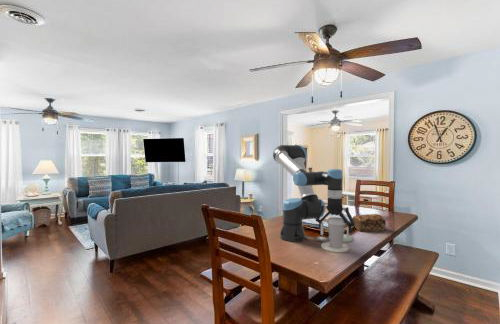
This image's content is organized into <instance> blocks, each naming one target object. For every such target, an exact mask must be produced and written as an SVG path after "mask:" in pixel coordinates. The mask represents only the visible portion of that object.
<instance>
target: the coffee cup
mask: <svg viewBox="0 0 500 324" xmlns="http://www.w3.org/2000/svg"><path fill="white" fill-rule="evenodd" d="M326 223H327V228H328V238H329V241H328V242H330V247H332V248H336V249H340V248H342V247H343V244H344V242H343V237H344V234H345V225H347V224H346V223H345V221H344V220H343V219H342V218H341V217H340V216H339V217H338V216H337V217H336V216H333V217H332V216H331V217H329V218H328V219H327V221H326Z"/></svg>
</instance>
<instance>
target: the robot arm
mask: <svg viewBox="0 0 500 324" xmlns="http://www.w3.org/2000/svg"><path fill="white" fill-rule="evenodd" d="M272 156H273V160H274V161H275V162H276V163H277V164H278V165H281V166H282V167H283V168H284V169H285V171H287V172H288V173H289V174H290V175H291V176H292V181H293V183H294V185H295V186H297V188H298V190H299V191H298V192H299V194H300V197H299V198H298V197H296V198H294V197H293V198H288V199H285V200H284V201H283V203H282V225H281V229H280V232H279V237H280V239H282V240H284V241H289V242H301V241H304V240H306V234H305V228H304V227H303V221H304V220H312V219H313V220H315V222H316V223H318V229H320V236H323V235H324V222H323V221H324V220H325V219H326V218H328V216H329V215H332V216H334V215H335V216H339V218H342V219H343V220H344V221H345V223H346V224H345V225H347V226H346V235H347V239H349V235H350V234H351V233H352V228H353V226H355V223H354V221H353V217H352V214H351V213H350V209H349V207H348V206H347V207H343V170H342V169H339V168H329V169H328V170H327V171H323V170H322V171H319V170H318V171H307V168H306V165H305V162H306V159H307V151H306V148H305V147H304V146H303V145H300V144H299V145H298V144H293V145H291V144H281V145H279V146H276V147H275V148H274V150H273V153H272ZM312 186H327V206H326V205H325V202H324V200H323V199H321V198H319V196H318V195H317V194H316V193H315V192H314V189H313V187H312ZM326 210H327V212H326V213H325V211H326ZM342 211H344V212H345V214H346V216H347V217H346V216H345V215H344V213H343V212H342ZM324 214H325V215H324Z"/></svg>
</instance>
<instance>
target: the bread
mask: <svg viewBox="0 0 500 324" xmlns="http://www.w3.org/2000/svg"><path fill="white" fill-rule="evenodd" d="M352 219H353V221H354V223H355V228H356V229H355V228H354V229H355V230H357V231H358V232H382V231H386V226H387V223H386V219H385V218H384V217H383V216H382V215H381V214H379V213H378V214H377V213H372V214H371V213H370V214H359V215H354V216H353V217H352Z"/></svg>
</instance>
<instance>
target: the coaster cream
mask: <svg viewBox="0 0 500 324" xmlns="http://www.w3.org/2000/svg"><path fill="white" fill-rule="evenodd" d="M320 245H321V247H320V248H321V249H323V250H324V251H326V252H330V253H339V254H341V253H342V254H343V253H346V252H349V246H348V245H347V244H345V243H343V247H342V248H340V249H336V248H332V247H330V241H328V242H322V243H321V244H320Z"/></svg>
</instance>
